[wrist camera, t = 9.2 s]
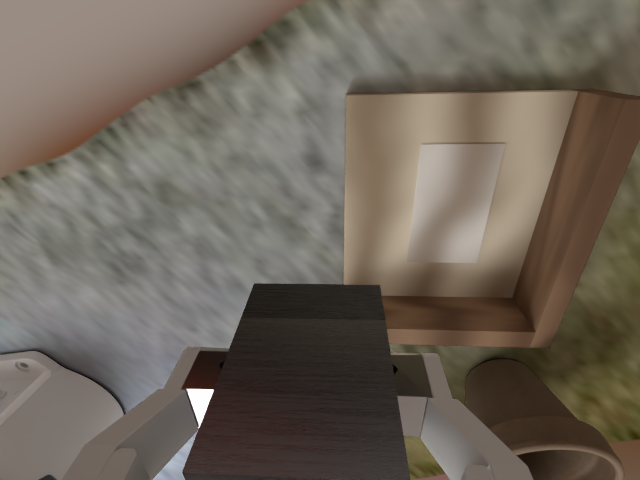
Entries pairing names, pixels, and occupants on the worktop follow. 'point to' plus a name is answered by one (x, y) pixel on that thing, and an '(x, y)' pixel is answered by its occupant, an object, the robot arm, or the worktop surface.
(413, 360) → the robot arm
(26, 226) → the worktop surface
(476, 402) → the flower pot
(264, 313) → the angle bracket
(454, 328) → the corner arena
